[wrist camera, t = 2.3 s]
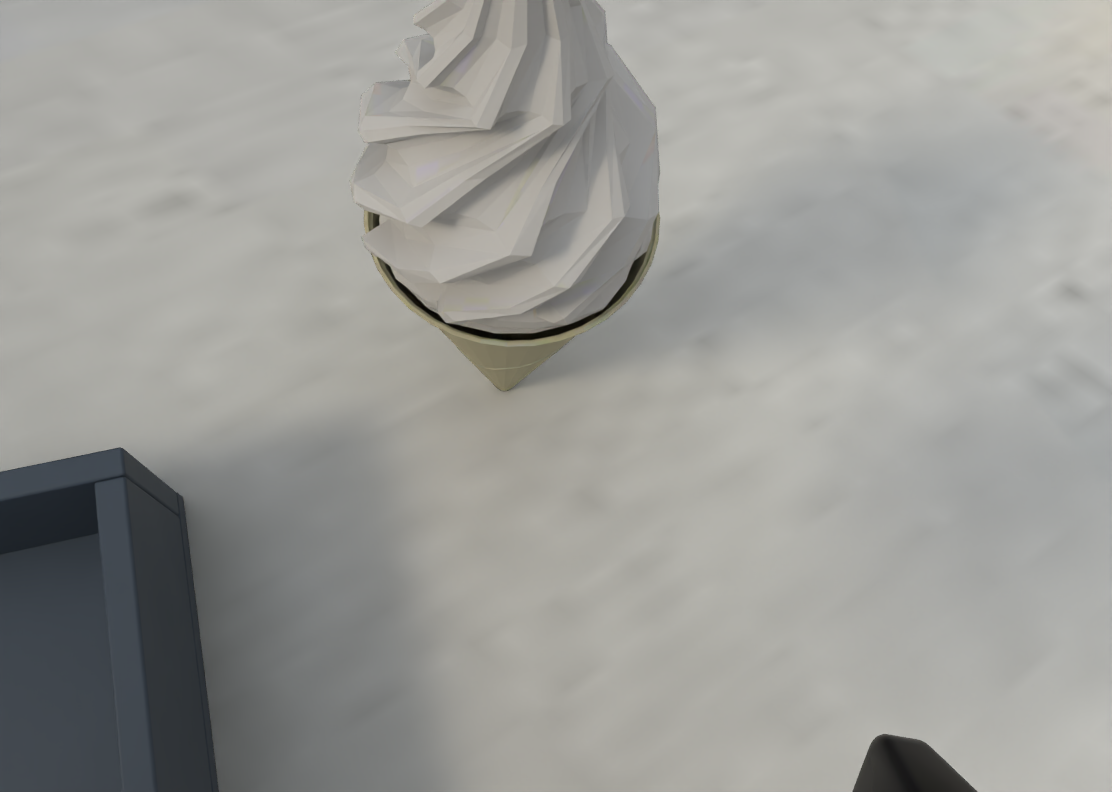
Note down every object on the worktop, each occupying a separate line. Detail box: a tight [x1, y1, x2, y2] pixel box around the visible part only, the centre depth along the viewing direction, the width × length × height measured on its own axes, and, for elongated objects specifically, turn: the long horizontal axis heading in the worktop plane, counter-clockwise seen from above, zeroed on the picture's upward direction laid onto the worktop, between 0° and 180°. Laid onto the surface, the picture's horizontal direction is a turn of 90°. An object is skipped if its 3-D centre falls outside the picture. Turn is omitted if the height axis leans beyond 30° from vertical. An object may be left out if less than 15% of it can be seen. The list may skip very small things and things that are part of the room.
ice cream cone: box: [349, 0, 660, 391], centre depth 17 cm, size 5×5×15 cm
